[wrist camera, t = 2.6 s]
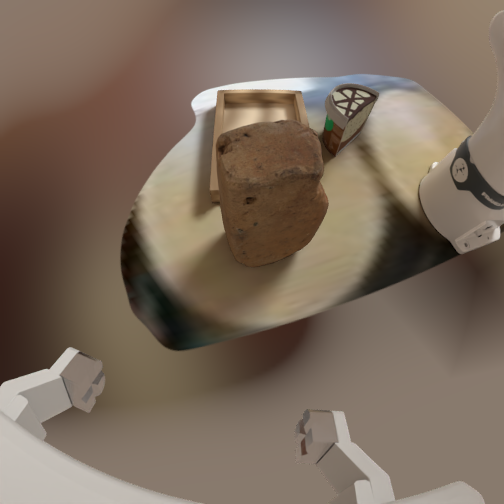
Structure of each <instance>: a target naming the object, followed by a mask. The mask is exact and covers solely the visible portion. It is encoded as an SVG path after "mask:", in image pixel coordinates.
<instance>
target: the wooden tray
mask: <svg viewBox="0 0 504 504" xmlns="http://www.w3.org/2000/svg"><path fill="white" fill-rule="evenodd" d="M289 119H291V120H296V121H299V122H301V123H302V124H305V125H306V126H307V127H308V128H309V123H308V119H307V114H306V110H305V106H304V101H303V97H302V93H301V91H291V90H219V91H218V93H217V103H216V113H215V124H214V136H213V149H212V162H211V177H210V194H211V198H212V203H220V197H219V187H218V178H217V162H216V142H217V139H218V137H219V136H220V135H221V134H223V133H225V132H227V131H230V130H233V129H236V128H239V127H242V126H246V125H250V124H253V123H258V122H266V121H270V122H275V121H279V120H289Z"/></svg>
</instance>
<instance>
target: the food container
mask: <svg viewBox="0 0 504 504" xmlns="http://www.w3.org/2000/svg"><path fill="white" fill-rule="evenodd" d="M378 97H379V93H378V92H377V91H375V90H373V89H371V88H369V87H366V86H363V85H359V84H352V83H347V84H341V85H338V86H336V87H335V88H334V89H333V90H332V91H331V92H330V93H329V95H328V97H327V98H326V101H325V108H326V111H327V117H326V122H325V127H324V132H323V142H324V145H325V147H326V148H327V150H328V151H329V152H330V153H331V154H332V155H333V156H335V157H336V156H337V155H338V154H339V153H340V152H341V151H342V150H343V149H344V148H345V147H346V146H347V145H348V144H349V143H350V142H351V141H352V140H353V139H354V138H356V137H357V136H358V135H359V134H360V133H361V131H362V129H363V127H364V125H365V123H366V121H367V119H368V116H369V114H370V112H371V110H372V108H373V106H374V104H375V102H376V101H377V99H378Z"/></svg>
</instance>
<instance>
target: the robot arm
mask: <svg viewBox="0 0 504 504" xmlns="http://www.w3.org/2000/svg"><path fill="white" fill-rule="evenodd" d="M489 41H490V45H491V48H492V50H493V53H494V56H495V60H496V65H497V77H498V78H497V90H496V95H495V99H494V102H493V105H492V107H491V110H490V111H489V113H488V114H487V116H486V118H485V119H484V120H483V122H482V124H481V125H480V126H479V127H478V129H477V130H476V131H475V133H474V134H473V135H472V136H469V137H467V138H466V139H465V140H464V141H463V142H462V143H461V145H460V146H459V147H458V149H457V148H455V149H453V150H452V151H451V152H450V153H449V154H448V155H447V156H445V157H444V158H443V159H442V160H441V161H440V162H439V163H437V162H434V163H433V164H432V165H431V166H430V170H429V173H428V174H427V175H426V176H425V177H424V178H423V179H422V181H421V183H420V188H419V194H420V200H421V204H422V207H423V209H424V212H425V214H426V216H427V217H428V219H429V221H430V222H431V223H432V225H433V226H434V227H435V228H436V230H437V231H438V232H439V233H440V234H442V235H443V236H444V237H445V238H447V239H448V240H449V241H450V242H451V244H452V245H453V247H454V248H455V249H456V251H457V252H458V253H459V254H464V253H467V252H469V251H472V250H475V249H477V248H480V247H482V246H485V245H488V244H490V243H493V242H495V241H497V240H498V239H499V238H500V225H502V224H503V223H504V10H503V11H500V12H498V13H497V14H496V15H495V16H494V17H493V19H492V21H491V23H490V26H489ZM102 368H103V365H102V361H100V360H98V359H96V358H93V357H91V356H89V355H87V354H85V353H82V352H80V351H78V350H76V349H74V348H71V347H70V348H68V349H67V350H66V351H65V352H64V353H63V354H62V355H61V357H60V358H59V359H58V360H57V361H56V362H55V364H54V365H53V366H52V367H51V368H50V370H48V369H44V370H41V371H38V372H35V373H32V374H29V375H26V376H23V377H19V378H16V379H13V380H10V381H7V382H4V383H3V384H2V385H1V387H0V504H203V503H199V502H194V501H189V500H185V499H181V498H176V497H173V496H169V495H165V494H162V493H158V492H155V491H152V490H149V489H146V488H142V487H140V486H137V485H134V484H131V483H128V482H126V481H123V480H120V479H118V478H115V477H113V476H110V475H108V474H106V473H103V472H101V471H99V470H97V469H95V468H92V467H90V466H88V465H86V464H84V463H82V462H80V461H78V460H76V459H74V458H72V457H70V456H68V455H67V454H65V453H63V452H61V451H59V450H58V449H56V448H54V447H53V446H51V445H49V444H48V443H46V442H45V441H43V440H44V438H45V437H46V435H47V434H46V431H45V430H44V428H43V426H42V425H41V423H42V422H44V421H45V420H47V419H49V418H51V417H53V416H55V415H57V414H59V413H61V412H62V411H64V410H66V409H68V408H70V407H71V406H72V405H73V406H75V407H77V408H79V409H82V410H84V411H86V412H88V413H89V412H90V411H91V409H92V407H93V406H94V404H95V402H96V401H95V396H98V395H100V394H101V392H102V390H103V388H104V384H105V375H104V373H103V372H102V371H101V369H102ZM295 442H296V443H297V444H298V447H297V448H296V450H295V454H296V463H303V464H316V466H317V467H318V469H319V470H320V472H321V473H322V474H323V476H324V477H325V478H326V480H327V481H328V482H329V484H330V485H331V486H332V488H333V489H334V491H335V492H336V493H337V494H338V495H337V496H336V497H334V498H333V499H332V500H330V501H329V502H328V503H327V504H485V502H484V500H483V497H482V496H481V494H480V493H478V492H477V491H476V490H475V489H473V488H472V487H470V486H469V485H467V484H466V483H464V482H462V481H458V482H454V483H451V484H449V485H446V486H443V487H440V488H437V489H434V490H431V491H428V492H425V493H422V494H418V495H415V496H411V497H407V498H403V499H399V500H395V498H394V494H393V490H392V486H391V482H390V478H389V475H388V474H386V473H385V472H384V471H383V470H382V469H381V468H380V467H379V466H378V465H377V464H376V463H375V462H373V460H372V459H371V458H369V457H368V456H367V455H366V454H365V453H364V452H363V451H362V450H361V449H360V448H359V447H358V446H357V445H356V444H355V443H351V440H350V436H349V431H348V427H347V423H346V418H345V415H344V413H343V412H342V411H327V410H310V409H307V410H306V411H305V412H304V413H303V419H302V420H300V421H299V422H298V424H297V425H296V429H295Z"/></svg>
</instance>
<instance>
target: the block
mask: <svg viewBox="0 0 504 504" xmlns="http://www.w3.org/2000/svg"><path fill="white" fill-rule="evenodd" d="M216 162H217V178H218V187H219V197H220V207H221V213H222V219H223V225H224V229H225V232H226V236H227V239H228V243H229V246H230V249H231V251H232V253H233V255H234V257H235V259H236V260H237V261H238V262H240V263H243V264H245V265H246V266H249V267H257V266H262V265H266V264H270V263H274V262H276V261H279V260H281V259H283V258H284V257H287V256H290V255H291V254H293V253H294V252H296V251H299V250H301V249H302V248H303V247H305V246H306V245H307V244H308V243H309V242H310V241H311V239H312V238H313V237H314V235H315V233H316V231H317V230H318V228H319V226H320V224H321V223H322V221H323V219H324V217H325V214H326V212H327V209H328V204H329V203H328V199H327V196H326V194H325V192H324V189H323V187H322V185H321V183H320V179H321V178H322V176H323V172H324V164H323V159H322V149H321V144H320V141H319V138H318V134H317V132H316V131H315V130H313V129H311V128H308V127H307V126H306V125H305V124H302V123H301V122H299V121H296V120H291V119H289V120H279V121H275V122H270V121H266V122H258V123H253V124H250V125H246V126H242V127H239V128H236V129H233V130H230V131H227V132H225V133H223V134H221V135H220V136H219V137H218V139H217V142H216Z"/></svg>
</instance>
